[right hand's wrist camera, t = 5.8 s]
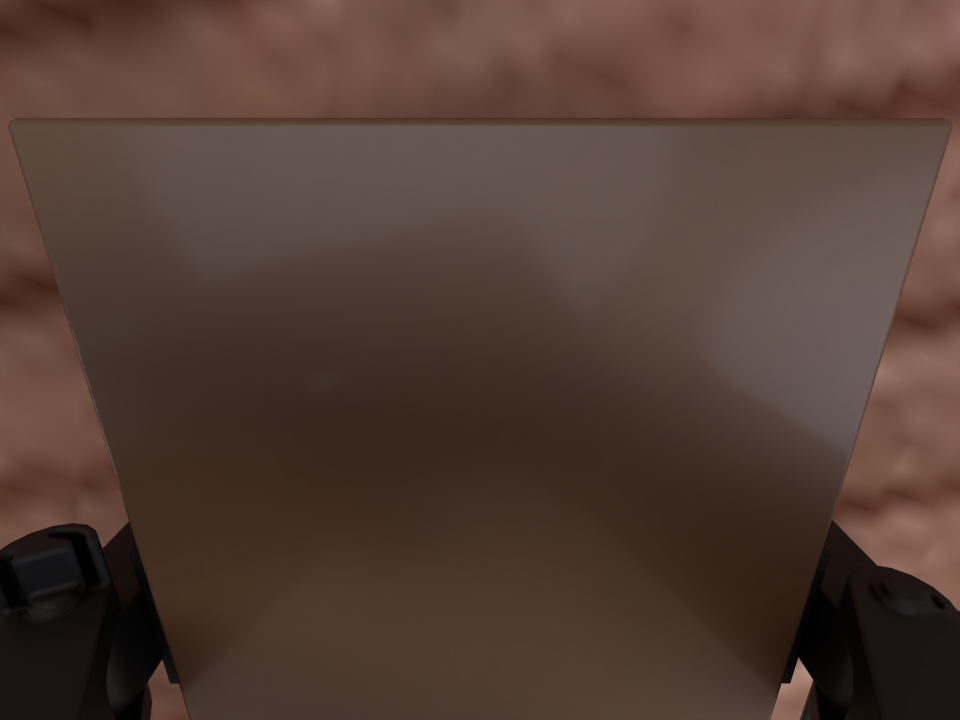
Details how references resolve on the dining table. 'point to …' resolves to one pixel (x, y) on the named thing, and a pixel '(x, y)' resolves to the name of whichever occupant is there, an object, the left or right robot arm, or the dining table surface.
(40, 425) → the dining table surface
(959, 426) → the dining table surface
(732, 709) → the thick board
